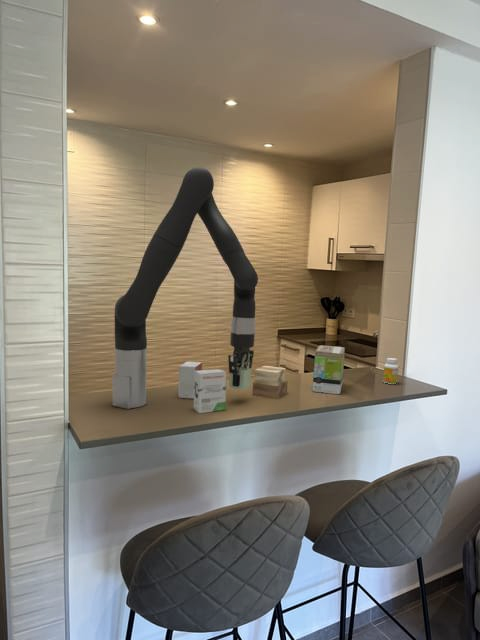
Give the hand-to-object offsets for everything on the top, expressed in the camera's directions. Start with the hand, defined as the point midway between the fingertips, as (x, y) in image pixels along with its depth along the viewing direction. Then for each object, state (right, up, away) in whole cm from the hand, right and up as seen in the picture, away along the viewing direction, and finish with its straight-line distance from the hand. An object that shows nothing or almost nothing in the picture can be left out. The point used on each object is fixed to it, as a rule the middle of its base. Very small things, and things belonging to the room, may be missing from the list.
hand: (239, 384), depth 144 cm
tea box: (+32, -5, +21) cm, 39 cm away
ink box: (-9, -7, -9) cm, 14 cm away
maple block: (+10, -1, +10) cm, 14 cm away
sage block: (0, -1, 0) cm, 1 cm away
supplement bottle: (+58, -4, +32) cm, 67 cm away
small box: (-16, -5, +6) cm, 18 cm away
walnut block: (+10, -5, +11) cm, 16 cm away
